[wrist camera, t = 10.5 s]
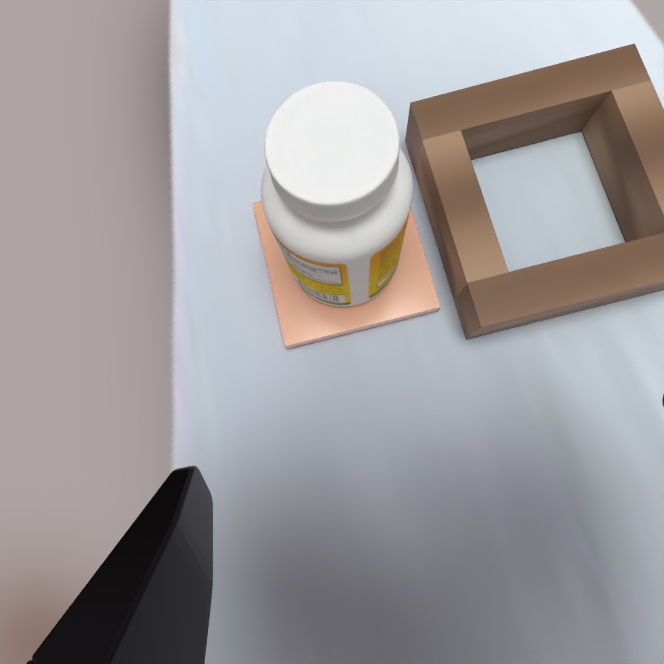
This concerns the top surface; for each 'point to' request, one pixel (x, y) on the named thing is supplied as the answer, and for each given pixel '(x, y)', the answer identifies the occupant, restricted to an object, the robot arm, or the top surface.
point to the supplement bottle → (337, 191)
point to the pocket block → (527, 128)
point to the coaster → (331, 321)
